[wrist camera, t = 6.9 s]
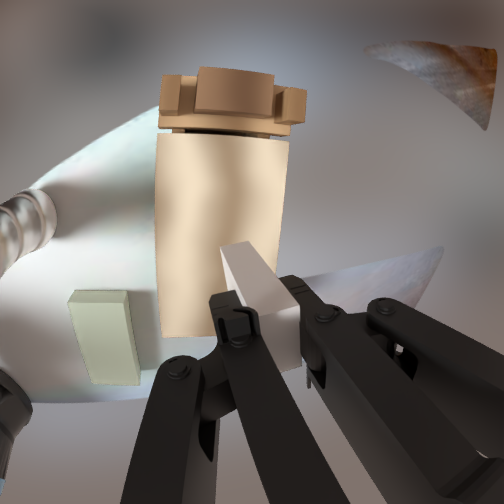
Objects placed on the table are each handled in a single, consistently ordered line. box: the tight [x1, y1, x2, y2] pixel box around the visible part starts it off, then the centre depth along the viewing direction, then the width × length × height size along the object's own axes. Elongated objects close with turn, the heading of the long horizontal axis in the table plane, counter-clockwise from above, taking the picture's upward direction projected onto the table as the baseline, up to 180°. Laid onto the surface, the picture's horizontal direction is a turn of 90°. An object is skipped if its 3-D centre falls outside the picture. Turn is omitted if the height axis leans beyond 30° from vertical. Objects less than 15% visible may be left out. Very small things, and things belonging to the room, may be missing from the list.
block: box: [193, 67, 274, 119], centre depth 17 cm, size 5×3×2 cm, turn 85°
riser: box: [67, 290, 141, 386], centre depth 30 cm, size 7×13×3 cm, turn 175°
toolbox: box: [158, 75, 307, 139], centre depth 24 cm, size 10×22×12 cm, turn 176°
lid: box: [155, 133, 289, 338], centre depth 23 cm, size 10×17×2 cm, turn 175°
